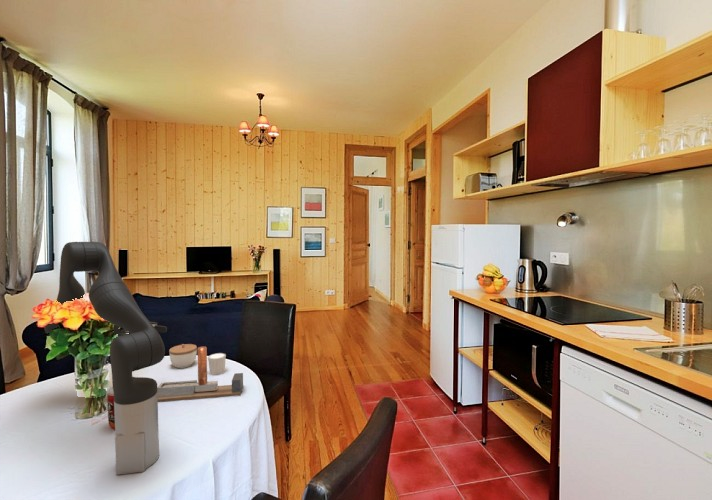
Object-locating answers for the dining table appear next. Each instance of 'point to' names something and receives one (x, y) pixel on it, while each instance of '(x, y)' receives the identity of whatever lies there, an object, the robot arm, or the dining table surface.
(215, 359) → the beige cylindrical piece
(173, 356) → the lidded jar
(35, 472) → the dining table surface
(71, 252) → the robot arm
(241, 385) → the socket block
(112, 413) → the canned food
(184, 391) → the guide sleeve
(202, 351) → the sliding bolt with handle
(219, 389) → the plank
